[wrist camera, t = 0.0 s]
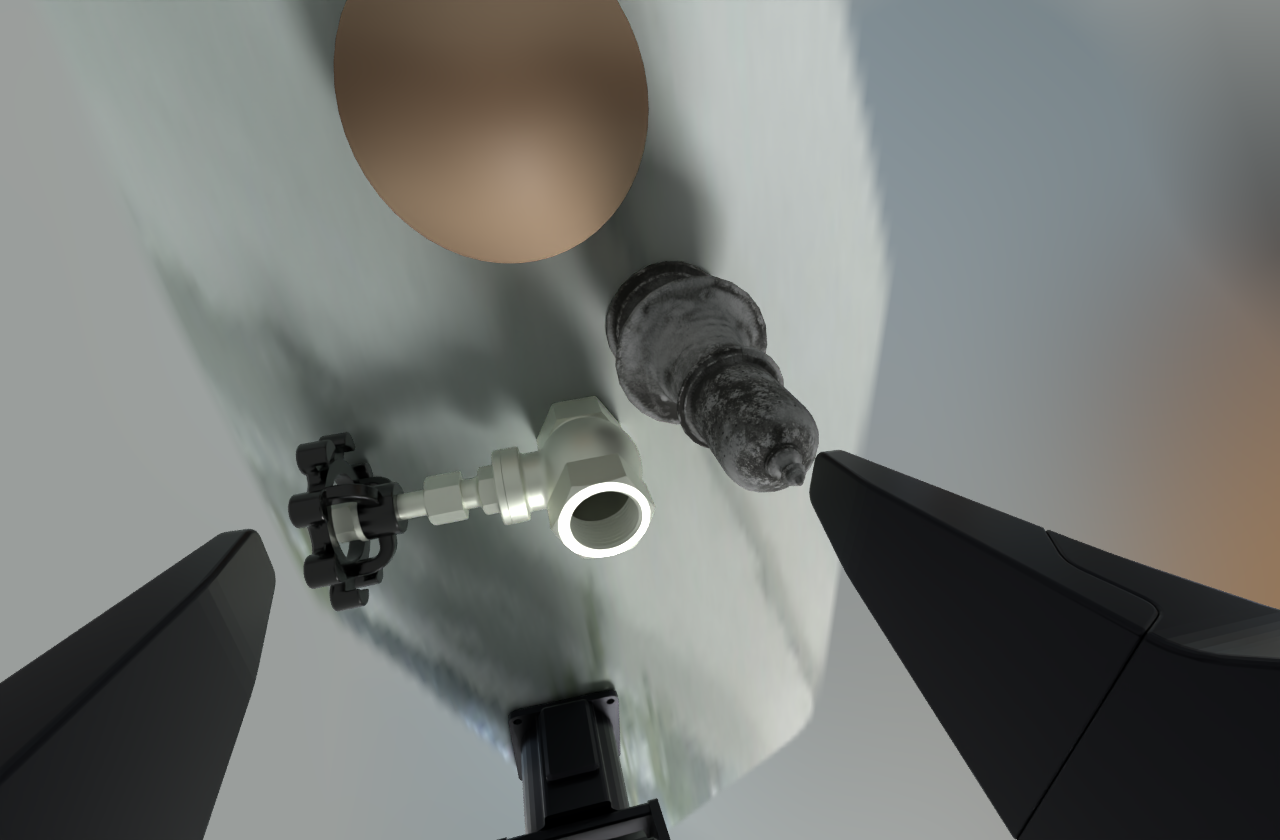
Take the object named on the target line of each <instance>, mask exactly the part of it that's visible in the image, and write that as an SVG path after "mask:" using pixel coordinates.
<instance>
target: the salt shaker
mask: <svg viewBox="0 0 1280 840" xmlns="http://www.w3.org/2000/svg"><path fill="white" fill-rule="evenodd" d="M606 333H607V338H608V342H609V346H610V349H611V351H612V352H613V354H614V356H615V358H616V370H617V374H618V379H619V383H620V385H621V387H622V389H623V391H624V392H625V394H626V396H627V398H628V399H629V401H630V402H631V403H632V404H633V405H634V406H635V407H636V408H638V409H639V410H640V411H641V412H642V413H643V414H645V415H647V416H649V417H651V418H653V419H655V420H657V421H661V422H666V423H671V424H681V426H682V428H683V430H684V432H685V433H686V434H687V435H688V436H689V437H690V438H691V439H692V440H693V441H694V442H695V443H697V444H699V445H701V446H703V447H705V448H710V450H711V451H712V453H713V454H714V456H715V457H716V459H717V460H718V462H719V463H720V465H721V466H722V468H723V469H724V471H725V472H726V474H727V475H728V476H729V477H730V478H731V479H732V480H733V481H734V482H735V483H737V484H738V485H739V486H741V487H743V488H745V489H747V490H750V491H755V492H774V491H778V490H782V489H785V488H787V487H789V486H798V485H799V486H801V485H802V484H803V481H804V479H805V475H806V472H807V471H808V470H809V468H810V467H811V465H812V463H813V461H814V459H815V456H816V452H817V448H818V444H819V433H818V429H817V426H816V423H815V421H814V419H813V417H812V415H811V414H810V413H809V411H808V410H807V409H806V407H805V406H804V405H802V404H801V403H800V402H799V401H798V400H797V399H796V398H795V397H794V396H793V395H792V394H791V393H790V392H789V391H788V390H787V389H785V388H784V381H783V377H782V374H781V372H780V369H779V367H778V366H777V364H776V363H775V362H774V361H773V359H772V358H771V357H770V356H768V355H767V354H765V353H766V347H767V336H766V325H765V322H764V319H763V317H762V314H761V311H760V309H759V307H758V306H757V305H756V303H755V302H754V301H753V299H752V298H751V297H750V295H749V294H748V293H747V292H745V291H744V290H742V289H741V288H739V287H738V286H736V285H735V284H734V283H732V282H730V281H727V280H723V279H720V278H717V277H714V276H710V275H708V274H707V273H706V272H704V271H703V270H701V269H700V268H698V267H697V266H694V265H691V264H687V263H684V262H672V261H665V262H661V263H657V264H653V265H649V266H647V267H645V268H644V269H642V270H640V271H638V272H636V273H635V274H633V275H632V276H631V277H630V278H629V279H628V280H627V281H626V282H625V283H624V284H623V285H622V286H621V287H620V289H619V290H618V292H617V293H616V295H615V297H614V298H613V300H612V302H611V305H610V309H609V312H608V315H607V327H606Z"/></svg>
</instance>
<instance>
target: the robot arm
mask: <svg viewBox="0 0 1280 840" xmlns="http://www.w3.org/2000/svg"><path fill="white" fill-rule="evenodd" d="M809 494H810V500H811V503H812V506H813V508H814V510H815V512H816V514H817V516H818V518H819V520H820V522H821V524H822V526H823V528H824V530H825V532H826V534H827V536H828V538H829V540H830V542H831V544H832V546H833V548H834V550H835V552H836V554H837V556H838V558H839V561H840V562H841V564H842V566H843V568H844V570H845V572H846V574H847V575H848V577H849V579H850V580H851V582H852V584H853V585H854V587H855V588H856V590H857V592H858V593H859V595H860V596H861V598H862V600H863V601H864V603H865V604H866V606H867V607H868V609H869V610H870V612H871V614H872V615H873V617H874V618H875V620H876V622H877V623H878V625H879V626H880V628H881V630H882V631H883V632H884V634H885V636H886V637H887V639H888V641H889V642H890V644H891V645H892V647H893V649H894V650H895V652H896V653H897V655H898V656H899V658H900V660H901V661H902V663H903V664H904V666H905V667H906V669H907V670H908V672H909V674H910V675H911V677H912V678H913V680H914V681H915V683H916V685H917V686H918V688H919V690H920V691H921V693H922V694H923V696H924V697H925V699H926V701H927V702H928V704H929V705H930V707H931V709H932V710H933V711H934V713H935V715H936V716H937V718H938V720H939V721H940V723H941V724H942V726H943V727H944V729H945V731H946V732H947V734H948V735H949V737H950V738H951V740H952V742H953V743H954V745H955V746H956V748H957V749H958V751H959V753H960V754H961V756H962V757H963V759H964V760H965V762H966V764H967V765H968V767H969V769H970V770H971V772H972V773H973V775H974V776H975V778H976V780H977V781H978V783H979V784H980V786H981V787H982V789H983V791H984V792H985V794H986V795H987V797H988V798H989V800H990V801H991V803H992V805H993V806H994V808H995V809H996V811H997V813H998V814H999V816H1000V817H1001V819H1002V820H1003V822H1004V824H1005V825H1006V827H1007V828H1008V830H1009V831H1010V833H1011V835H1012V836H1013V838H1014V839H1017V840H1280V610H1279V609H1276V608H1272V607H1269V606H1266V605H1262V604H1259V603H1256V602H1253V601H1251V600H1247V599H1244V598H1242V597H1239V596H1236V595H1232V594H1230V593H1227V592H1224V591H1221V590H1217V589H1215V588H1211V587H1209V586H1206V585H1203V584H1200V583H1197V582H1194V581H1191V580H1188V579H1185V578H1181V577H1179V576H1176V575H1173V574H1169V573H1167V572H1164V571H1161V570H1158V569H1155V568H1152V567H1149V566H1146V565H1143V564H1140V563H1138V562H1135V561H1131V560H1129V559H1126V558H1123V557H1120V556H1117V555H1114V554H1112V553H1109V552H1106V551H1103V550H1101V549H1098V548H1095V547H1092V546H1090V545H1087V544H1085V543H1082V542H1079V541H1077V540H1074V539H1071V538H1068V537H1066V536H1064V535H1061V534H1058V533H1056V532H1053V531H1051V530H1047V531H1045V530H1044V528H1042V527H1040V526H1037V525H1035V524H1032V523H1030V522H1027V521H1024V520H1022V519H1019V518H1017V517H1013V516H1011V515H1009V514H1006V513H1004V512H1001V511H998V510H996V509H993V508H991V507H988V506H985V505H983V504H980V503H978V502H975V501H972V500H970V499H967V498H965V497H962V496H959V495H957V494H954V493H952V492H949V491H947V490H944V489H941V488H939V487H936V486H933V485H930V484H928V483H926V482H923V481H920V480H918V479H915V478H913V477H910V476H907V475H905V474H902V473H900V472H897V471H894V470H892V469H889V468H887V467H884V466H882V465H879V464H876V463H874V462H871V461H869V460H866V459H863V458H861V457H858V456H856V455H853V454H850V453H848V452H845V451H842V450H833V451H826V452H820V453H819V454H818V455H817V456H816V458H815V462H814V467H813V473H812V479H811V484H810V491H809ZM274 589H275V572H274V569H273V566H272V564H271V561H270V559H269V557H268V554H267V552H266V550H265V547H264V544H263V542H262V540H261V537H260V535H259V534H258V533H257V532H256V531H255V530H252V529H244V530H238V531H230V532H224V533H221V534H219V535H217V536H216V537H214V538H213V539H212V540H210V541H209V542H207V543H206V544H204V545H203V546H201V547H200V548H198V549H197V550H195V551H194V552H192V553H191V554H189V555H188V556H187V557H185V558H183V559H182V560H181V561H179V562H178V563H176V564H175V565H173V566H172V567H170V568H169V569H167V570H166V571H164V572H163V573H161V574H160V575H158V576H157V577H156V578H154V579H153V580H151V581H150V582H148V583H147V584H145V585H144V586H143V587H141V588H139V589H138V590H136V591H135V592H133V593H132V594H131V595H129V596H128V597H126V598H125V599H123V600H122V601H120V602H119V603H117V604H116V605H114V606H113V607H111V608H110V609H109V610H107V611H105V612H104V613H103V614H101V615H100V616H98V617H97V618H95V619H94V620H92V621H91V622H89V623H88V624H86V625H85V626H83V627H82V628H80V629H79V630H78V631H76V632H75V633H73V634H72V635H70V636H69V637H68V638H66V639H64V640H63V641H61V642H60V643H59V644H57V645H56V646H54V647H53V648H51V649H50V650H48V651H47V652H45V653H44V654H42V655H41V656H39V657H38V658H36V659H35V660H33V661H32V662H30V663H29V664H28V665H26V666H25V667H23V668H22V669H20V670H19V671H17V672H16V673H14V674H13V675H11V676H10V677H8V678H7V679H5V680H4V681H3V682H1V683H0V840H203V838H204V835H205V832H206V829H207V826H208V823H209V820H210V817H211V813H212V811H213V808H214V805H215V802H216V798H217V796H218V793H219V790H220V787H221V784H222V781H223V778H224V775H225V772H226V769H227V766H228V763H229V760H230V757H231V754H232V751H233V748H234V745H235V742H236V739H237V736H238V733H239V730H240V727H241V724H242V721H243V718H244V715H245V712H246V709H247V706H248V703H249V700H250V697H251V693H252V690H253V687H254V684H255V680H256V675H257V672H258V667H259V663H260V658H261V653H262V648H263V643H264V638H265V634H266V629H267V624H268V619H269V614H270V609H271V604H272V599H273V594H274ZM509 727H510V733H511V738H512V744H513V749H514V754H515V760H516V765H517V770H518V776H519V779H520V780H522V781H523V798H524V816H525V832H526V834H525V835H522V836H517V837H513V838H510V839H507V837H505V838H502V839H498V840H670V837H669V834H668V831H667V827H666V824H665V821H664V818H663V815H662V812H661V809H660V805H659V802H658V799H657V798H656V799H652V800H648V803H644V804H641V805H637V806H633V807H629V802H628V797H627V792H626V788H625V783H624V778H623V773H622V768H621V764H620V759H619V756H620V727H619V699H618V695H617V692H616V691H614V690H608V691H604V692H599V693H594V694H590V695H585V696H581V697H576V698H571V699H567V700H562V701H557V702H553V703H548V704H543V705H539V706H534V707H530V708H525V709H520V710H516V711H513V712H512V713H510V715H509Z"/></svg>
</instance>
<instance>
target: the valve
mask: <svg viewBox="0 0 1280 840" xmlns="http://www.w3.org/2000/svg"><path fill="white" fill-rule="evenodd" d="M537 445H538V451H535V452H530V453H524V454H521V453H520V452H519V449H518V447H511V448H506V449H500V450H494V451H492V454H491V461H492V465H488V466H482V467H479V468H478V471H477V476H476V477H475V478H470V479H465V480H464V478H463V476H462V474H461V472H460V471H455V472H450V473H445V474H439V475H434V476H429V477H426V479H425V481H424V484H423V490H419V491H414V492H408V493H404V492H403V490H402V488H401V486H400V485H399V483H397V482H391V481H390V480H389V479H387V478H385V477H373V472H372V470H371V467H370V465H369V464H368V463H360V464H355V465H350V464H349V463H348V462H346V461H345V460H344V452H349V451H354V450H355V444H354V440H353V438H352V436H351V434H350V433H348V432H345V433H339V434H333V435H327V436H322V437H321V438H320V439H319V441H316V442H311V443H305V444H300V445H299V446H298V447H297V450H296V461H297V465H298V468H299V470H300V471H301V473H302V474H304V475H306V476H307V481H308V488H307V492H306V493H300V494H295V495H293V496H292V497H291V498H290V500H289V504H288V512H289V517H290V520H291V522H292V524H293V525H294V526H295V527H296V528H305V527H307V528H308V531H309V534H310V538H311V542H312V555H309V556H308V557H307V558H306V559H305V562H304V578H305V581H306V583H307V585H308V586H309V587H310V588H312V589H316V588H320V587H325V586H330V585H331V586H330V601H331V605H332V607H333V609H334V610H335V611H343V610H347V609H352V608H357V607H361V606H365V605H366V604H367V602H368V598H369V589H363V590H360V589H356V588H361V587H366V586H370V585H375V584H379V583H381V582H382V579H383V567H385V566H386V565H387V564H388V563H389V562H390V561H391V560H392V558H393V556H394V555H395V552H396V549H397V536H396V535H397V534H402V533H404V532H405V531H406V530H407V526H408V519H411V518H416V517H421V516H426V515H427V516H428V518H429V520H430V522H431V523H432V524H434V525H435V526H436V525H441V524H446V523H451V522H456V521H461V520H466V519H469V509H472V508H477V507H481V508H483V510H484V512H485V513H486V514H487V515H491V514H496V513H500V514H501V517H502V520H503V523H504V524H505V525H511V524H516V523H521V522H526V521H530V519H531V512H533V511H537V510H542V509H548V515H549V521H550V527H551V530H552V532H553V533H554V534H555V535H556V536H557V537H558V538H559V539H560V540H561V541H562V542H563V543H564V544H565V545H566V546H567V547H568V548H569V549H571V550H572V551H573V552H574V553H575V554H577V555H578V556H580V557H581V558H583V559H592V558H601V557H607V556H611V555H615V554H619V553H622V552H625V551H627V550H630V549H632V548H634V547H635V546H636V544H637V543H638V542H639V540H640V539H641V537H642V536H643V534H644V533H645V531H646V529H647V527H648V525H649V523H650V521H651V519H652V516H653V514H654V511H655V509H656V507H655V504H654V502H653V500H652V497H651V495H650V493H649V491H648V488H647V486H646V484H645V483H644V482H643V481H642V462H641V458H640V454H639V451H638V449H637V447H636V445H635V443H634V442H633V440H632V439H631V438H630V436H629V435H628V434H627V433H626V432H625V431H624V430H623V429H622V428H621V425H620V424H619V422H618V421H617V420H616V419H615V418H614V417H613V415H612V414H611V413H610V412H609V411H608V410H607V408H606V407H605V406H604V405H603V404H602V403H601V401H600V400H599V399H598V398H597V397H596V396H591V397H585V398H579V399H574V400H568V401H562V402H556V403H553V404H552V405H551V407H550V410H549V412H548V414H547V417H546V419H545V421H544V423H543V426H542V428H541V430H540V433H539V435H538V437H537ZM334 481H335V482H336V483H337V485H334V486H333V484H334ZM377 538H379V543H380V551H379V553H378V555H377V556H375V557H372V558H369V551H370V540H372V539H377ZM338 541H339V542H341V543H345V542H349V550H348V554H347V557H346V556H345V555H344V553H343V552H342V550H341V548H340V545H339V543H338Z"/></svg>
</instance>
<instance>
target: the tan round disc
mask: <svg viewBox="0 0 1280 840" xmlns="http://www.w3.org/2000/svg"><path fill="white" fill-rule="evenodd" d="M334 86H335V93H336V99H337V105H338V111H339V115H340V118H341V122H342V125H343V128H344V132H345V135H346V138H347V140H348V142H349V145H350V147H351V149H352V152H353V154H354V157H355V158H356V160H357V162H358V164H359V166H360V167H361V169H362V171H363V173H364V175H365V176H366V178H367V179H368V181H369V182H370V184H371V185H372V186H373V188H374V189H375V191H376V192H377V193H378V195H379V196H380V197H381V198H382V199H383V201H384V202H385V203H386V204H387V205H388V206H389V207H390V208H391V209H392V211H393V212H394V213H395V214H397V215H398V216H399V217H400V218H401V219H402V220H403V221H404V222H406V223H407V224H408V225H409V226H410V227H411V228H413V229H414V230H416V231H417V232H418V233H420V234H421V235H423V236H424V237H426V238H427V239H429V240H430V241H432V242H434V243H436V244H438V245H440V246H441V247H443V248H445V249H448V250H450V251H453V252H455V253H458V254H460V255H463V256H466V257H470V258H474V259H477V260H481V261H488V262H495V263H524V262H532V261H538V260H542V259H545V258H549V257H553V256H555V255H558V254H560V253H563V252H565V251H567V250H570V249H571V248H573V247H575V246H576V245H578V244H580V243H582V242H583V241H585V240H586V239H587V238H589V237H590V236H591V235H593V234H594V233H595V232H596V231H598V230H599V229H600V228H601V227H602V226H603V225H604V224H605V223H606V222H607V221H608V220H609V219H610V218H611V216H612V215H613V214H614V212H615V211H616V210H617V208H618V207H619V206H620V205H621V203H622V201H623V200H624V198H625V196H626V195H627V193H628V191H629V189H630V188H631V186H632V183H633V181H634V179H635V176H636V174H637V172H638V169H639V166H640V162H641V159H642V156H643V152H644V147H645V141H646V136H647V128H648V111H649V108H648V89H647V82H646V76H645V70H644V65H643V61H642V58H641V54H640V51H639V47H638V44H637V41H636V39H635V36H634V34H633V31H632V29H631V26H630V24H629V22H628V20H627V18H626V16H625V14H624V12H623V10H622V9H621V7H620V5H619V3H618V1H617V0H347V1H346V3H345V6H344V8H343V11H342V14H341V17H340V22H339V26H338V30H337V35H336V41H335V52H334Z"/></svg>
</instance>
